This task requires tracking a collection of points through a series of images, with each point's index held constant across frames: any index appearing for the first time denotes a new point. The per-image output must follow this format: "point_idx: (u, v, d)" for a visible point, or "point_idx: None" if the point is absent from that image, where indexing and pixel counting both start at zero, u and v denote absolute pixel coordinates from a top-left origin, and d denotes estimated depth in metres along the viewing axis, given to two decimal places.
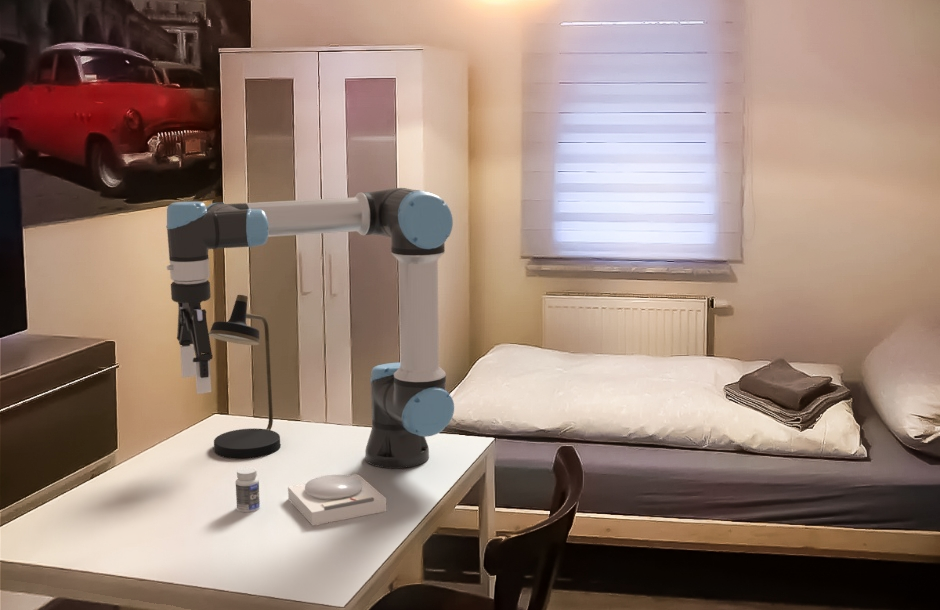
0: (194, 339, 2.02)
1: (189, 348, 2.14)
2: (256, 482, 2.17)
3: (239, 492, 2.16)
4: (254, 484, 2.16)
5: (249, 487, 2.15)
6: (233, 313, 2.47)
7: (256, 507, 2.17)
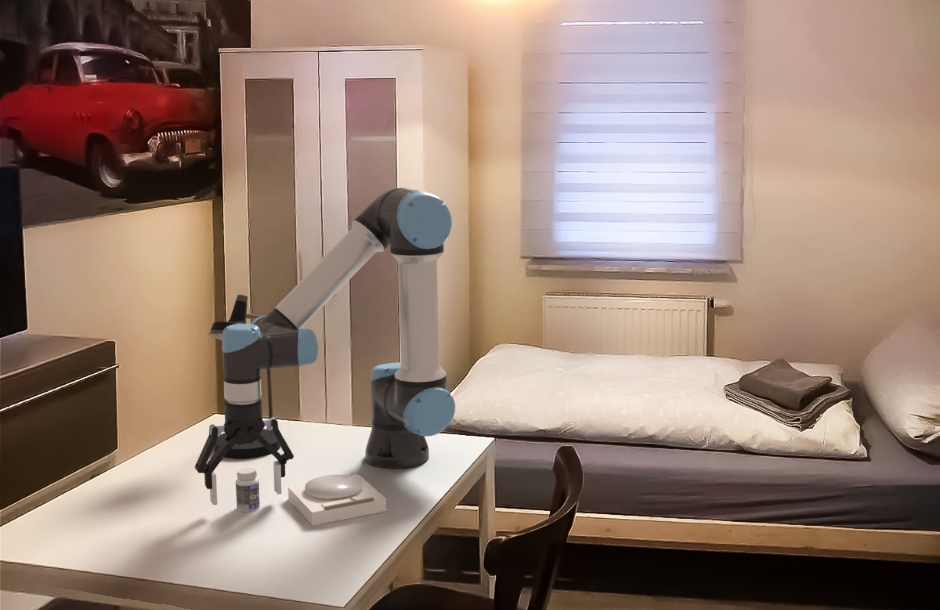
0: (216, 451, 2.14)
1: (275, 466, 2.19)
2: (256, 482, 2.17)
3: (239, 492, 2.16)
4: (254, 484, 2.16)
5: (249, 487, 2.15)
6: (233, 313, 2.47)
7: (256, 507, 2.17)
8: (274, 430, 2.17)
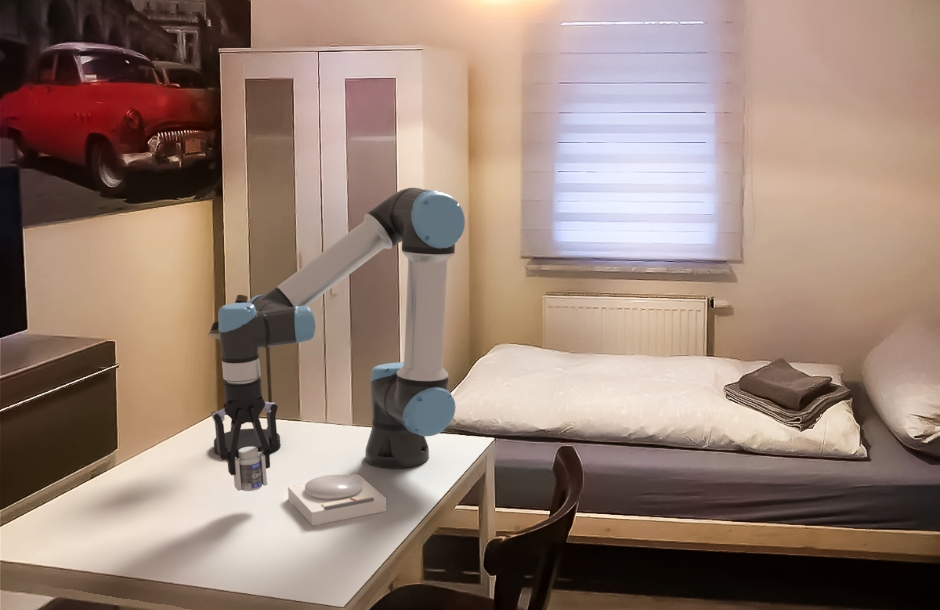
0: None
1: (260, 457, 2.17)
2: (258, 461, 2.16)
3: (241, 471, 2.15)
4: (256, 463, 2.16)
5: (251, 466, 2.15)
6: None
7: (259, 486, 2.17)
8: (271, 414, 2.16)
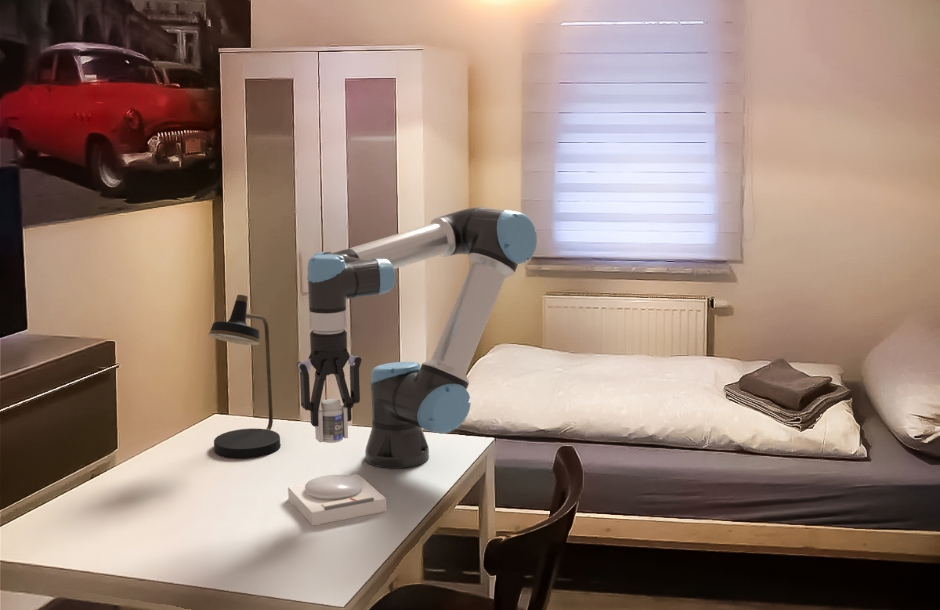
0: (313, 388, 2.16)
1: (342, 409, 2.18)
2: (340, 413, 2.17)
3: (323, 423, 2.16)
4: (339, 414, 2.16)
5: (334, 418, 2.15)
6: (233, 313, 2.47)
7: (340, 438, 2.17)
8: (355, 367, 2.17)
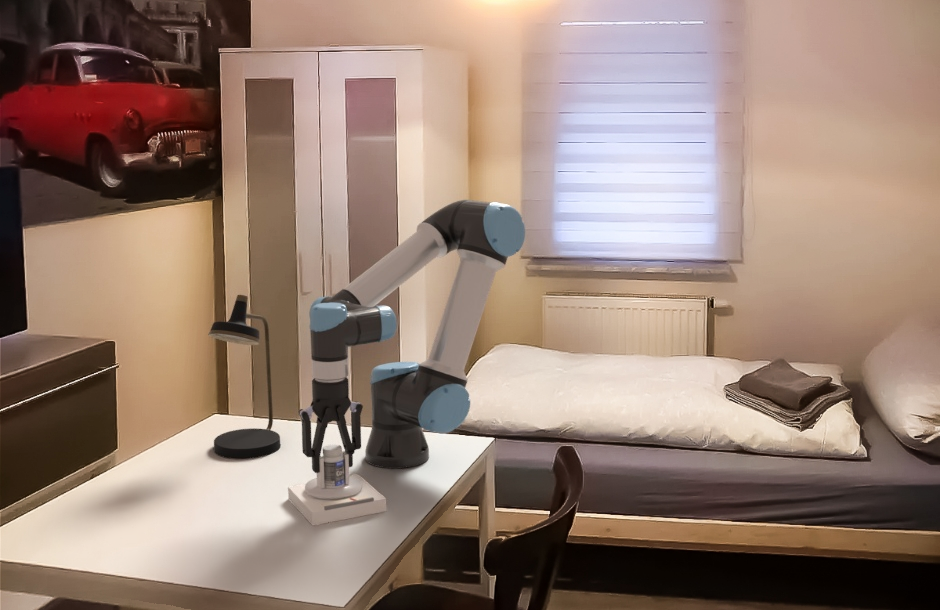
0: (315, 434, 2.18)
1: (343, 455, 2.20)
2: (342, 459, 2.19)
3: (325, 469, 2.18)
4: (340, 460, 2.18)
5: (335, 464, 2.17)
6: (233, 313, 2.47)
7: (341, 483, 2.19)
8: (356, 414, 2.19)
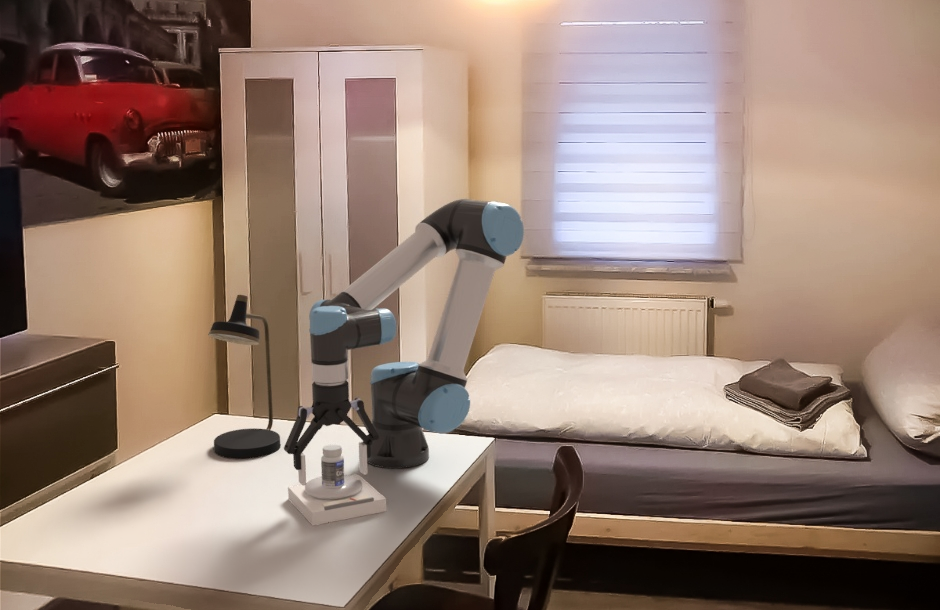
0: (304, 432, 2.17)
1: (361, 446, 2.22)
2: (342, 459, 2.19)
3: (325, 469, 2.18)
4: (340, 460, 2.18)
5: (335, 464, 2.17)
6: (233, 313, 2.47)
7: (341, 483, 2.19)
8: (360, 411, 2.19)
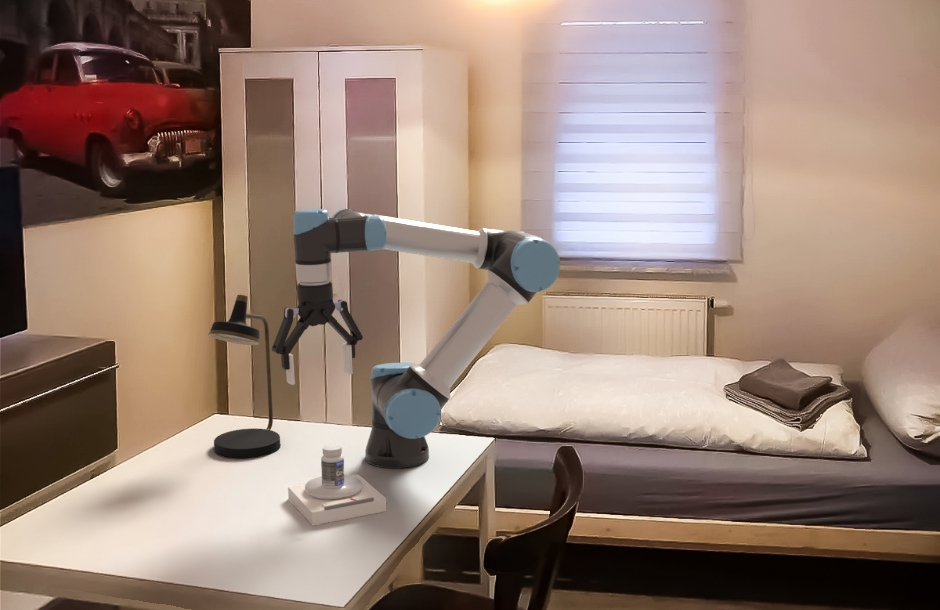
0: (291, 333, 2.22)
1: (346, 347, 2.28)
2: (342, 459, 2.19)
3: (325, 469, 2.18)
4: (340, 460, 2.18)
5: (335, 464, 2.17)
6: (233, 313, 2.47)
7: (341, 483, 2.19)
8: (344, 311, 2.25)
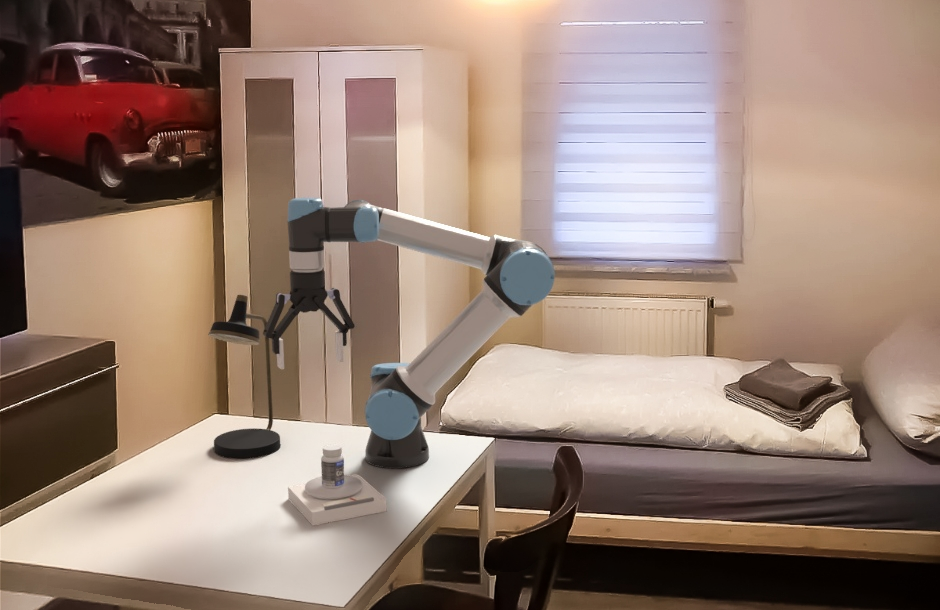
0: (282, 319, 2.26)
1: (337, 334, 2.32)
2: (342, 459, 2.19)
3: (325, 469, 2.18)
4: (340, 460, 2.18)
5: (335, 464, 2.17)
6: (233, 313, 2.47)
7: (341, 483, 2.19)
8: (336, 299, 2.29)
